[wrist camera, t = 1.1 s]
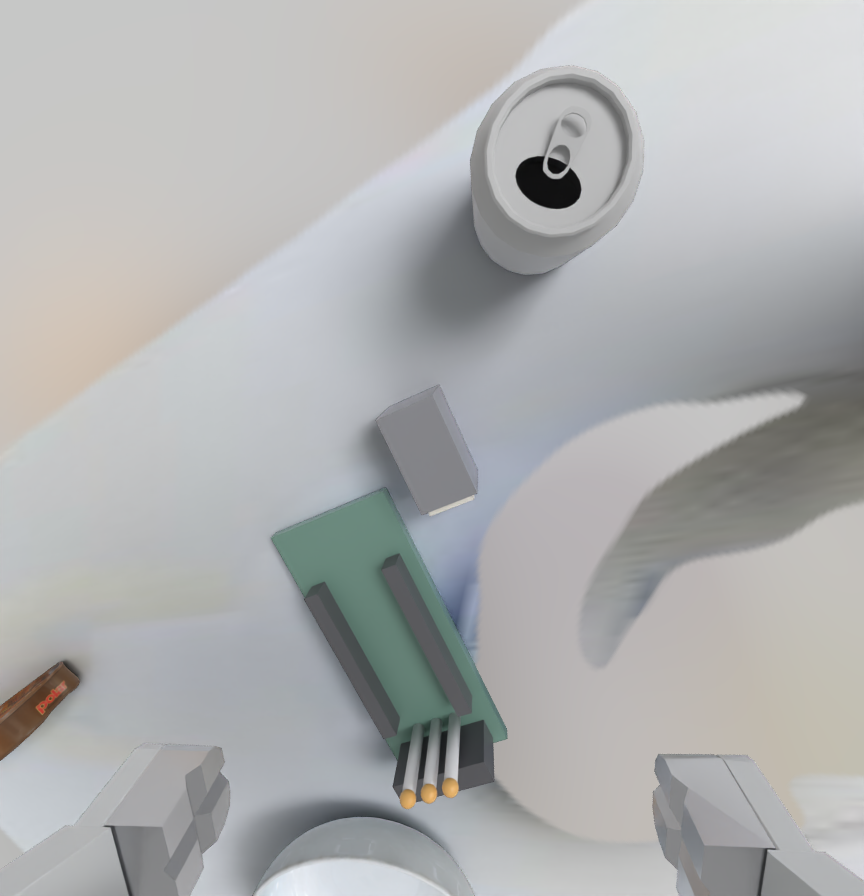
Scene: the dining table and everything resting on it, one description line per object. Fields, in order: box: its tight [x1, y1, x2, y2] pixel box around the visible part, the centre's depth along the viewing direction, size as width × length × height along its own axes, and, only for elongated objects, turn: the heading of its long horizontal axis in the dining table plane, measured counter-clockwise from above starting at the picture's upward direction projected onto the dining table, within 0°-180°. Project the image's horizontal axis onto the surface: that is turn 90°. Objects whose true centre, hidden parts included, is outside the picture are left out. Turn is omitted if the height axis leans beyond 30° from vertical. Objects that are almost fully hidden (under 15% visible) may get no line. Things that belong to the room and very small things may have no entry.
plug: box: [375, 385, 478, 516], centre depth 33 cm, size 4×7×5 cm, turn 25°
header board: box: [271, 487, 507, 809], centre depth 36 cm, size 10×24×8 cm, turn 25°
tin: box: [0, 662, 80, 761], centre depth 42 cm, size 15×3×8 cm, turn 127°
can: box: [470, 65, 644, 275], centre depth 25 cm, size 8×8×12 cm
